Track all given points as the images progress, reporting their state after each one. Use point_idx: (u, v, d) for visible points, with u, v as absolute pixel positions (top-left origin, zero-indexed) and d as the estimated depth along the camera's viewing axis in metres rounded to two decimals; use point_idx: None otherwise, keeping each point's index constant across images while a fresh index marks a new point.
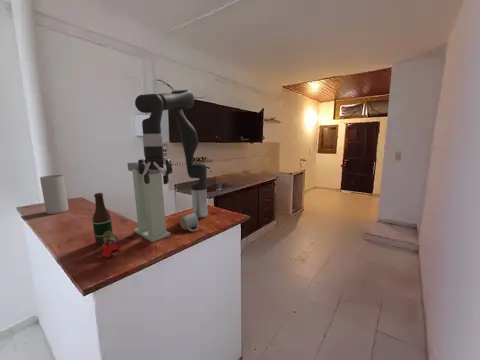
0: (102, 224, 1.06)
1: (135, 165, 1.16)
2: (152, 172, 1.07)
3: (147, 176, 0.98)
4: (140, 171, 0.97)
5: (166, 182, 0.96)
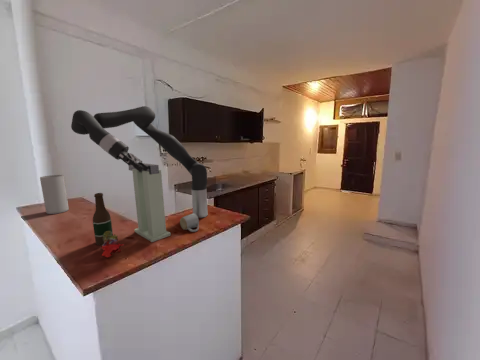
0: (102, 224, 1.06)
1: None
2: (153, 172, 1.08)
3: None
4: (131, 159, 0.97)
5: (147, 167, 1.09)
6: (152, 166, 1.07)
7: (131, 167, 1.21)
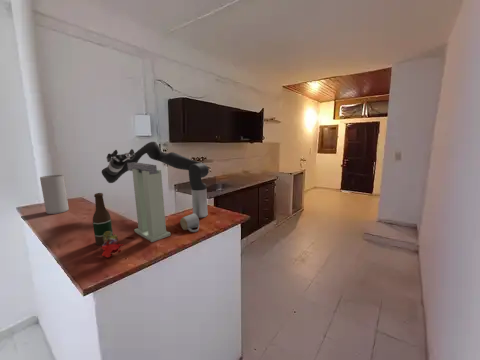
0: (102, 224, 1.06)
1: (134, 165, 1.17)
2: (151, 172, 1.08)
3: None
4: None
5: (133, 150, 1.32)
6: (150, 166, 1.07)
7: (130, 167, 1.21)
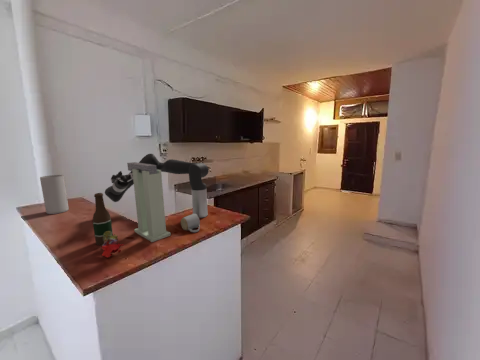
0: (102, 224, 1.06)
1: (134, 165, 1.17)
2: (151, 172, 1.08)
3: None
4: None
5: None
6: (150, 166, 1.07)
7: (130, 167, 1.21)
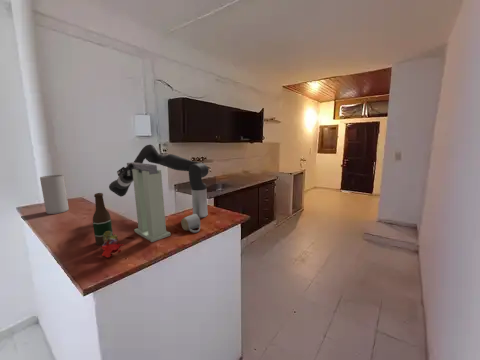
0: (102, 224, 1.06)
1: (134, 165, 1.17)
2: (151, 172, 1.08)
3: None
4: None
5: None
6: (150, 166, 1.07)
7: None
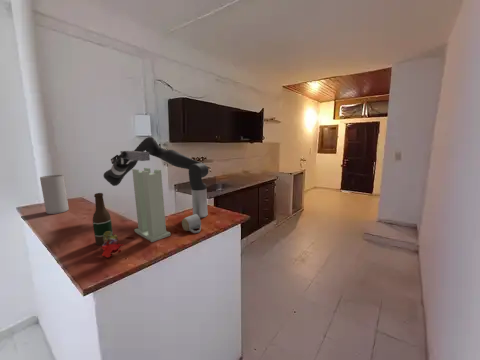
0: (102, 224, 1.06)
1: (127, 153, 1.19)
2: (143, 158, 1.11)
3: None
4: None
5: None
6: (143, 153, 1.10)
7: None
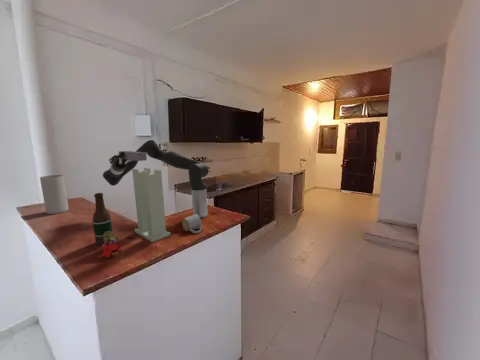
0: (102, 224, 1.06)
1: (125, 153, 1.22)
2: (141, 158, 1.14)
3: None
4: None
5: None
6: (140, 153, 1.13)
7: None
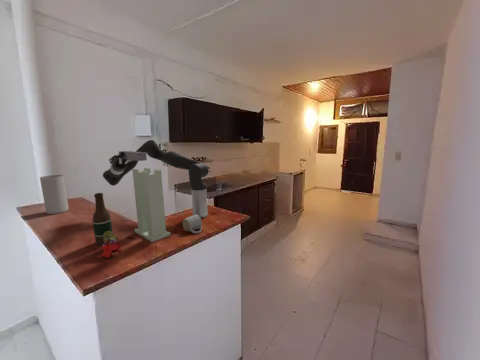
0: (102, 224, 1.06)
1: (125, 153, 1.22)
2: (141, 158, 1.14)
3: None
4: None
5: None
6: (140, 153, 1.13)
7: None
